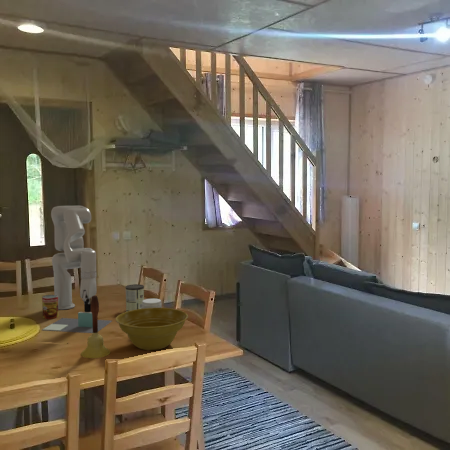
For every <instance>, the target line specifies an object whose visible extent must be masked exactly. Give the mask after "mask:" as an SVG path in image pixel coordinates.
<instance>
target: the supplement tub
mask: <svg viewBox="0 0 450 450" xmlns="http://www.w3.org/2000/svg"><path fill="white" fill-rule="evenodd" d="M143 308H163V307H162V300H161V299H159V298H144V300H143V301H142V309H143Z"/></svg>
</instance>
